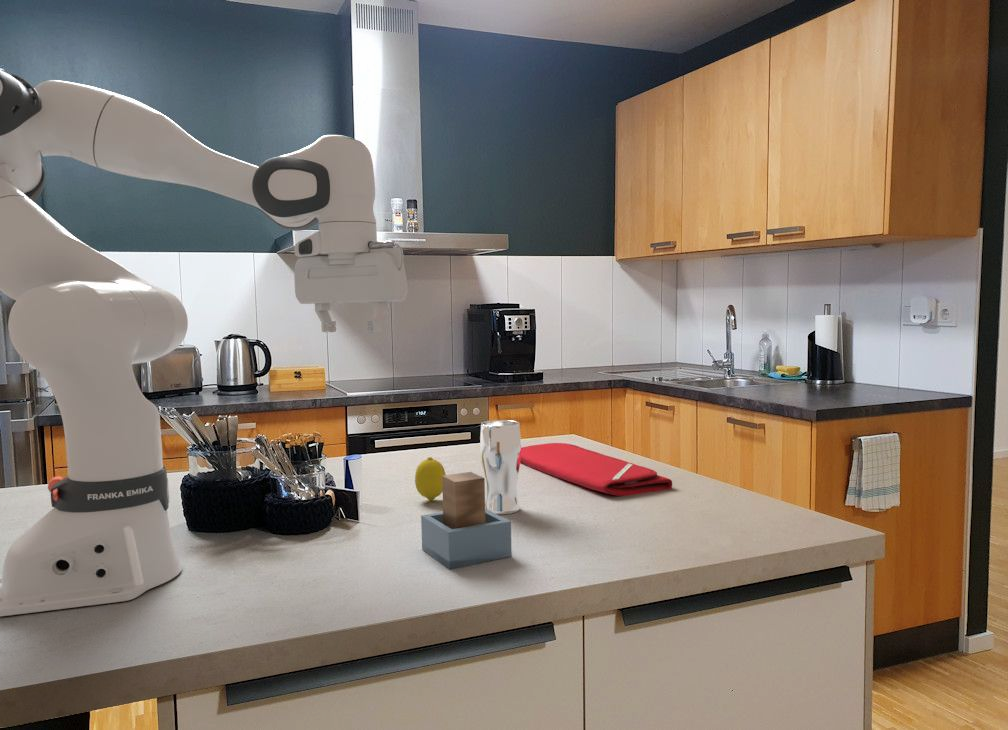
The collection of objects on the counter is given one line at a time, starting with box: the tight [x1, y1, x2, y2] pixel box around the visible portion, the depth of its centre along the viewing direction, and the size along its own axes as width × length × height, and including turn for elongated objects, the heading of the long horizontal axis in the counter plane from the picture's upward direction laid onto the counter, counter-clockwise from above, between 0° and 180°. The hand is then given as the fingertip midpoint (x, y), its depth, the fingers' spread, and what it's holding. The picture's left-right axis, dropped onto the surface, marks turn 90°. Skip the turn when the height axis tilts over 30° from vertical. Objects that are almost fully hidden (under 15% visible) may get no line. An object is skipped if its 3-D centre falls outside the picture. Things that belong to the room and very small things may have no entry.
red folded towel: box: [520, 442, 673, 497], centre depth 157 cm, size 16×41×4 cm, turn 25°
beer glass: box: [479, 419, 522, 516], centre depth 129 cm, size 7×7×15 cm
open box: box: [420, 509, 512, 570], centre depth 107 cm, size 10×10×5 cm
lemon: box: [414, 456, 447, 502], centre depth 136 cm, size 6×6×8 cm
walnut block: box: [442, 471, 486, 529], centre depth 107 cm, size 4×4×10 cm
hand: (351, 332), depth 119 cm, fingers open, 8 cm apart
